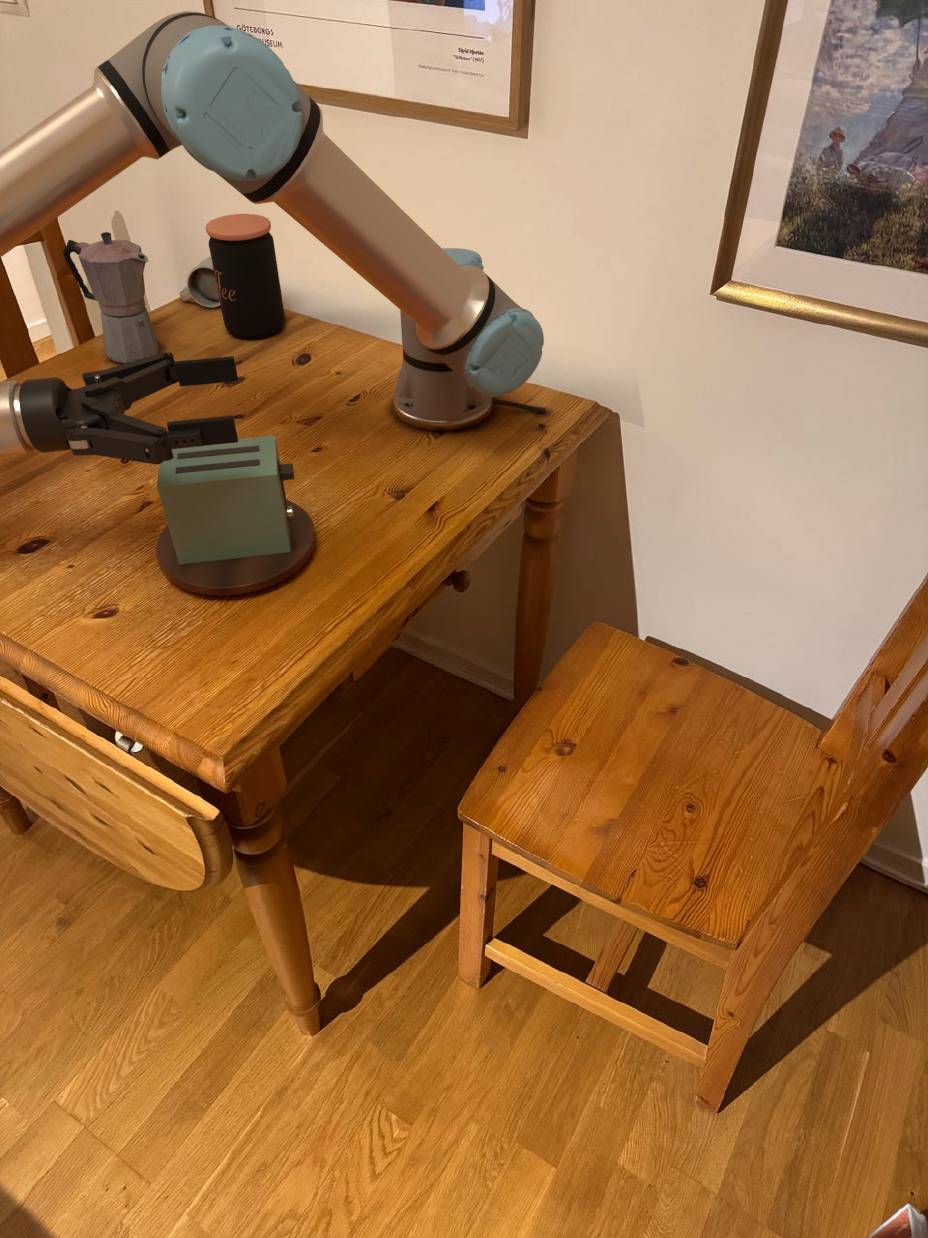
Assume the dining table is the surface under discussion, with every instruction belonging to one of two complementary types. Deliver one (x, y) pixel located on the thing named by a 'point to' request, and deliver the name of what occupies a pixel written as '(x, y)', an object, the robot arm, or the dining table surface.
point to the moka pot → (117, 295)
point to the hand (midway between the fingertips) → (236, 397)
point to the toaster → (230, 518)
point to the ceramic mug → (202, 285)
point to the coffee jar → (246, 275)
